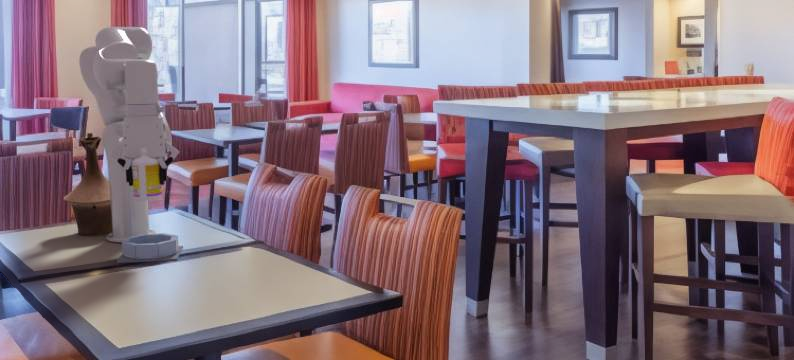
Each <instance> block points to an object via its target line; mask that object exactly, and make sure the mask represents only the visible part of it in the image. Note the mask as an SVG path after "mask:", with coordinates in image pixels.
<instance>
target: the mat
mask: <svg viewBox="0 0 794 360" xmlns="http://www.w3.org/2000/svg"><path fill="white" fill-rule="evenodd" d="M183 249H184V246H183V245H179V247H178V253H177V254H175V255H172V256H169V257H165V258H159V259H148V260H136V259H128V258H125V257H124V255H123V254H121V255H120V256H119V258H117V260H116V264H123V263H124V264H127V263H129V264H130V263H146V262H168V261H169V262H170V261H178V259H179V257H180V255H181V253H182V251H181V250H183ZM180 252H181V253H180Z"/></svg>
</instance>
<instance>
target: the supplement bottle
mask: <svg viewBox="0 0 794 360" xmlns="http://www.w3.org/2000/svg"><path fill="white" fill-rule="evenodd" d="M147 153H148V151H147V149H146V148H141V150H140V154H142V155H141V157H139V158H136V159H133V160H132V178H133V194H134V199H135V200H138V201H148V202H149V201H151V202H152V201H157V200H160V199H161V198H162V197H163V192H162V185H161V184H160V168H161V165H160V163H159V162H158V160H157V158H151V157H148V156H147V155H146V154H147Z"/></svg>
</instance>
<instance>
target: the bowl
mask: <svg viewBox="0 0 794 360" xmlns="http://www.w3.org/2000/svg"><path fill="white" fill-rule="evenodd" d="M179 246H180V245H179V235H176V234H173V233H172V234H170V233H167V232H166V233H165V232H161V233H158V232H157V233H155V234H141V235H137V236H132V237H127V238H125V239H124V240H123V241H122V243H121V252H122V254H123V255H124V257H125V258H128V259H136V260H148V259H159V258H165V257H169V256H172V255H175V254H177V253H178V247H179ZM122 254H121V255H122Z"/></svg>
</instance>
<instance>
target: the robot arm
mask: <svg viewBox="0 0 794 360" xmlns="http://www.w3.org/2000/svg"><path fill="white" fill-rule="evenodd" d="M94 43H95V45H92V46H89V47H86V48H84V49H83V50H82V51H81V52H80V54H79V59H78V61H79V62H78V64H79V70H80V74H81V77H82V79H83V82H84V83H85V85H86V87H87V89H88V90H89V91H90V93H91V94H92V95H93V96H94V98H95V100H96V103H97V107H98V109H99V110H98V111H99V114H100V117H101V119H102V122H103V124H104V126H105V127H104V129H103V130H102V141H103V143H102V144H103V147H104V151H105V152H104V153H105V155H106V156H105V157H106V162H107V169H108V170H107V171H108V180H109V185H110V201H111V216H112V233H110V234H108V235H106V240H107V241H108V242H111V243H121V244H122V241H123V240H124V239H125V238H127V237H132V236H137V235H141V234H156V231H154V230H152V229H150V221H149V219H150V218H149V217H150V215H149V204H148V203H149V201H138V200H135V199H134V194H133V178H132V160H133V159H136V158H139V157H141V155H142V154H140V150H141V148H146V149H147V151H148V153H147V154H146V155H147V156H148V157H151V158H157V160H158V162H159V163H160V184H161V186H163V185H164V184H165V183H166V182H167V181H168V173H167V171H168V169H167V167H168V166H169V165H170V164H171V163H172V162H173V161H174V160H175V159H176V158H177V156H178V155H179V154H180V151H179V150H178V149H177V148H176V147H174V146H173V140H172V132H171V129H170V125H169V123H168V121H167V118H166V116H165V114H164V112H165V113H166V106H164V105H163V106H162V105H161V103H160V101H159V87H158V86H159V85H158V76H159V75H158V67H157V64H156V62H155V61H154V60H151V59H150V58H151V54H152V51H153V41H152V37H151V34H150V33H149V31H148V30H146V29H145V28H144V27H139V26H109V27H105V28H103V29H101V30H99V31H98V33H97V34H96V36H95V40H94ZM168 152H170V153H171V154H170V155H169V156H168V158H167V159H165V156H166V155H167V154H168Z"/></svg>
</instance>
